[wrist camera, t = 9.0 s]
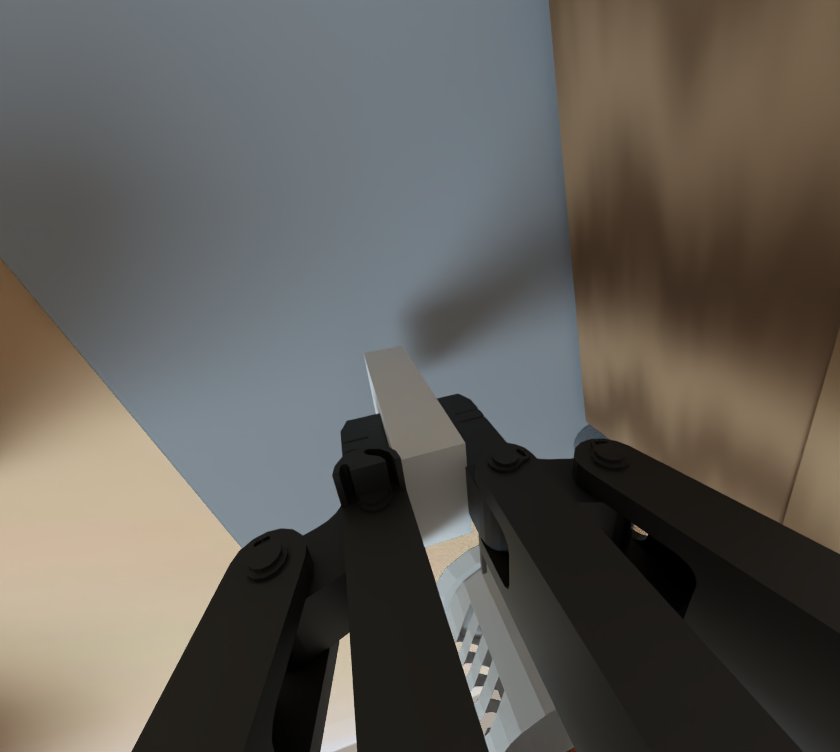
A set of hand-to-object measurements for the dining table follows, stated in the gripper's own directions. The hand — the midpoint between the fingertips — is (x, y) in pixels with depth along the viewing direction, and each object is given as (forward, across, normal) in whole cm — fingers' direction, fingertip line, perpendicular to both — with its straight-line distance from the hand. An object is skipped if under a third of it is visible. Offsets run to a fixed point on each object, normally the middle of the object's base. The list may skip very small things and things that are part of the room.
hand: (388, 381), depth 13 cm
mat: (+2, +1, +3) cm, 4 cm away
